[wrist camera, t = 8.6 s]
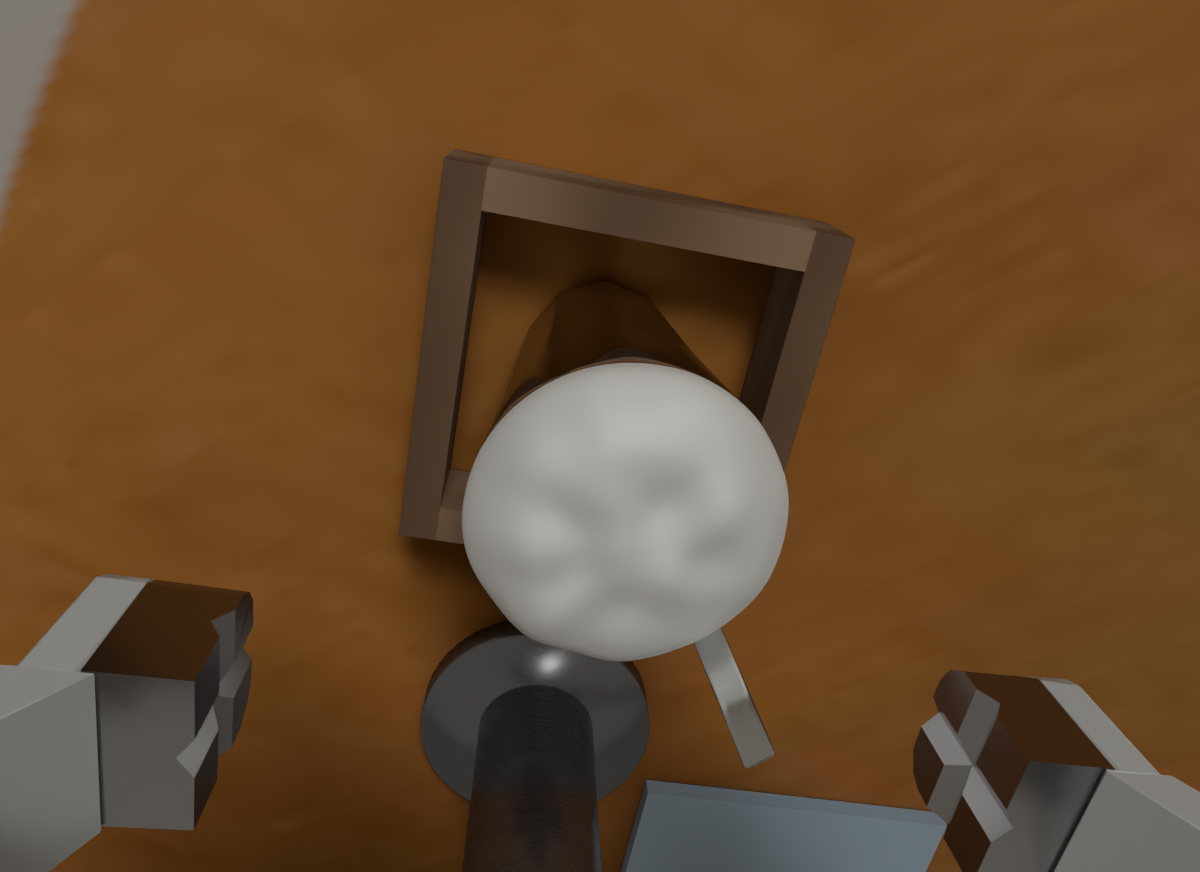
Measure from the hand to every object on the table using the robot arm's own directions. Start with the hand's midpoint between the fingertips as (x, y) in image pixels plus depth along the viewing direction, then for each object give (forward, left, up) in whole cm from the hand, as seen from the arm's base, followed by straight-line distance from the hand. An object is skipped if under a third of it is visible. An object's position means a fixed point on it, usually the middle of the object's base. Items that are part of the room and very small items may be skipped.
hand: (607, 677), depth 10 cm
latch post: (-1, +9, -11) cm, 14 cm away
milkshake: (-1, -1, -11) cm, 11 cm away
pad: (-9, +16, -11) cm, 21 cm away
